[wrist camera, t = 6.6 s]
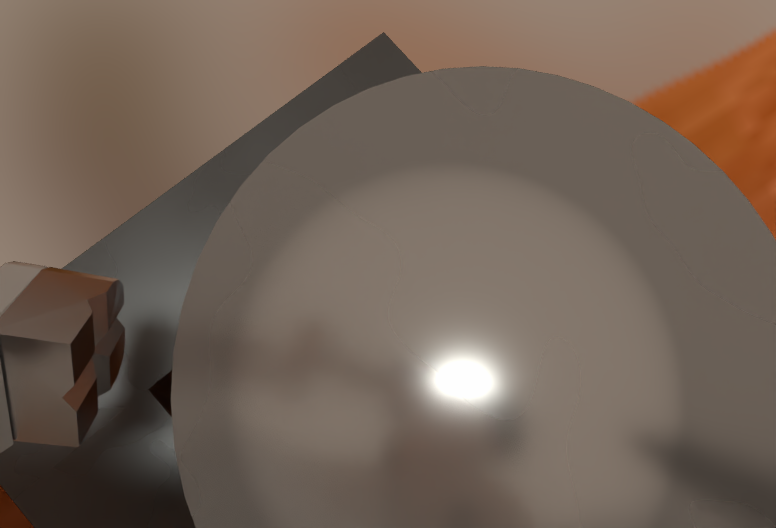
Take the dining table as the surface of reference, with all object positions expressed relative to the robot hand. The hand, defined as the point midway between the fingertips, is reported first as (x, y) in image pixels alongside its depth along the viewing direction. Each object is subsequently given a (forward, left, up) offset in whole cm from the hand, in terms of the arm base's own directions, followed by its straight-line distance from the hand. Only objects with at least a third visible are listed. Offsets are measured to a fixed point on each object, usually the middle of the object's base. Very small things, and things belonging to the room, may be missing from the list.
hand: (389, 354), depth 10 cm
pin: (0, 0, -8) cm, 8 cm away
